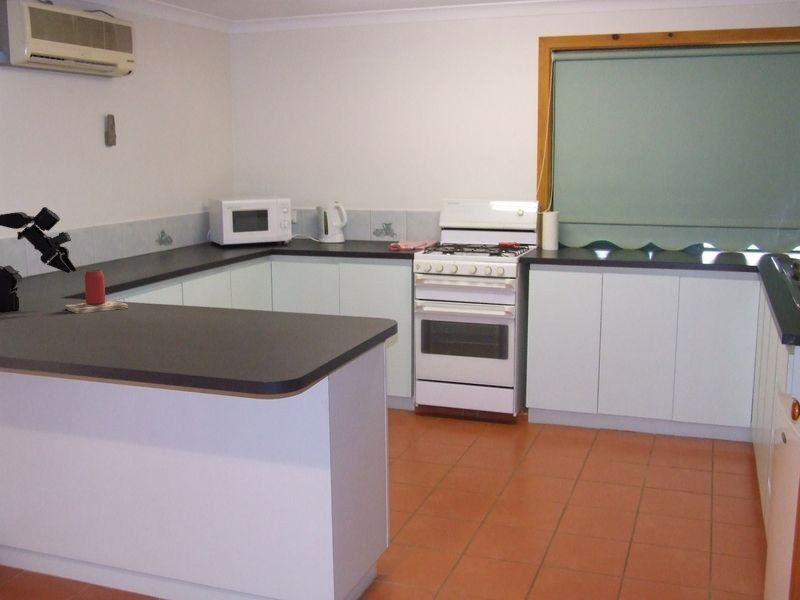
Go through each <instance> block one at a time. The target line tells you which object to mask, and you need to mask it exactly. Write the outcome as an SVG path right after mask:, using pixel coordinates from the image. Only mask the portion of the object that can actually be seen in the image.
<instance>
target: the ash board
mask: <svg viewBox="0 0 800 600" xmlns="http://www.w3.org/2000/svg"><path fill="white" fill-rule="evenodd" d="M64 306H65V310H66V309H67V311H69V312H71V313H73V314H85V313H87V314H88V313H96V312H105V311H114V310H115V311H117V310H116V309H118V310H126V309H125V308H129V305H128V303H124V302H121V301H118V300H108V301H107V300H105V303H104V304H100V305H88V304H87V303H86V302H84V303H82V302H81V303H73V304H65V305H64Z"/></svg>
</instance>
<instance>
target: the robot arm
mask: <svg viewBox="0 0 800 600" xmlns="http://www.w3.org/2000/svg"><path fill="white" fill-rule="evenodd" d="M60 221H61V218H60V216H59V215H58V214H57V213H56V212H53V211H52V210H51V209H50V208H48V207H46V206H44V207H42V208H41V209H40V211H39V212H38V213H37V214H36V215H35V216H34V215H33V216H31V215H28V214H27V213H26V212H23V211H17V212H10V213H9V212H7V213H1V214H0V227H4V228H8V229H14V230H17V229H18V230H19V229H23V228H24V229H23V230H21V231H17V232H16V234H17V240H19V241H20V240H23V239H26V240H27V241H28V242H29V243H30V244H31V245H32V246H33V248H34V250H36V251H38V252H39V253H40V254H41V255H40V261H41V262H42V263H43V264H44V265H47V266H49V267H52V268H54V269H57V270H60V271H62V272H64V273H66V274H70V273H71V272H76V271H77V269H76V266H75V265H74V263H73V262H72V261H71V259H70V257H69V256H70V251H69V249H68V248H67V246H63V244H65V243H67V242H71V241H72V238H71V235H70V233H69V232H67V231H66V232H64V231H62V232H59V233H58V235H56V236H54V237H52V236H48V235H47V234H46V233H44V232H45V231H47V232H50V230H52V229H53V228H54V227H55V225H57V224H58V223H59V222H60ZM29 224H31V226H28V225H29ZM61 245H62V246H61ZM22 284H23V276H22V275H21V274H20V271H19V270H16V269H15V268H13V266H11V265H10V264H8V265H5V266H1V265H0V313H3V312H13V311H20V298H19V296H18V295H17V292H18V291H19V290H18V289H19V287H20V286H22Z"/></svg>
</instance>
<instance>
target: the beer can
mask: <svg viewBox="0 0 800 600" xmlns="http://www.w3.org/2000/svg"><path fill="white" fill-rule="evenodd" d="M105 288H106V287H105V275H104V272H103V270H102V269H89V270H85V274H84V291H85V303H87V304H88V305H100V304H104V303H105V301H106V289H105Z"/></svg>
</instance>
